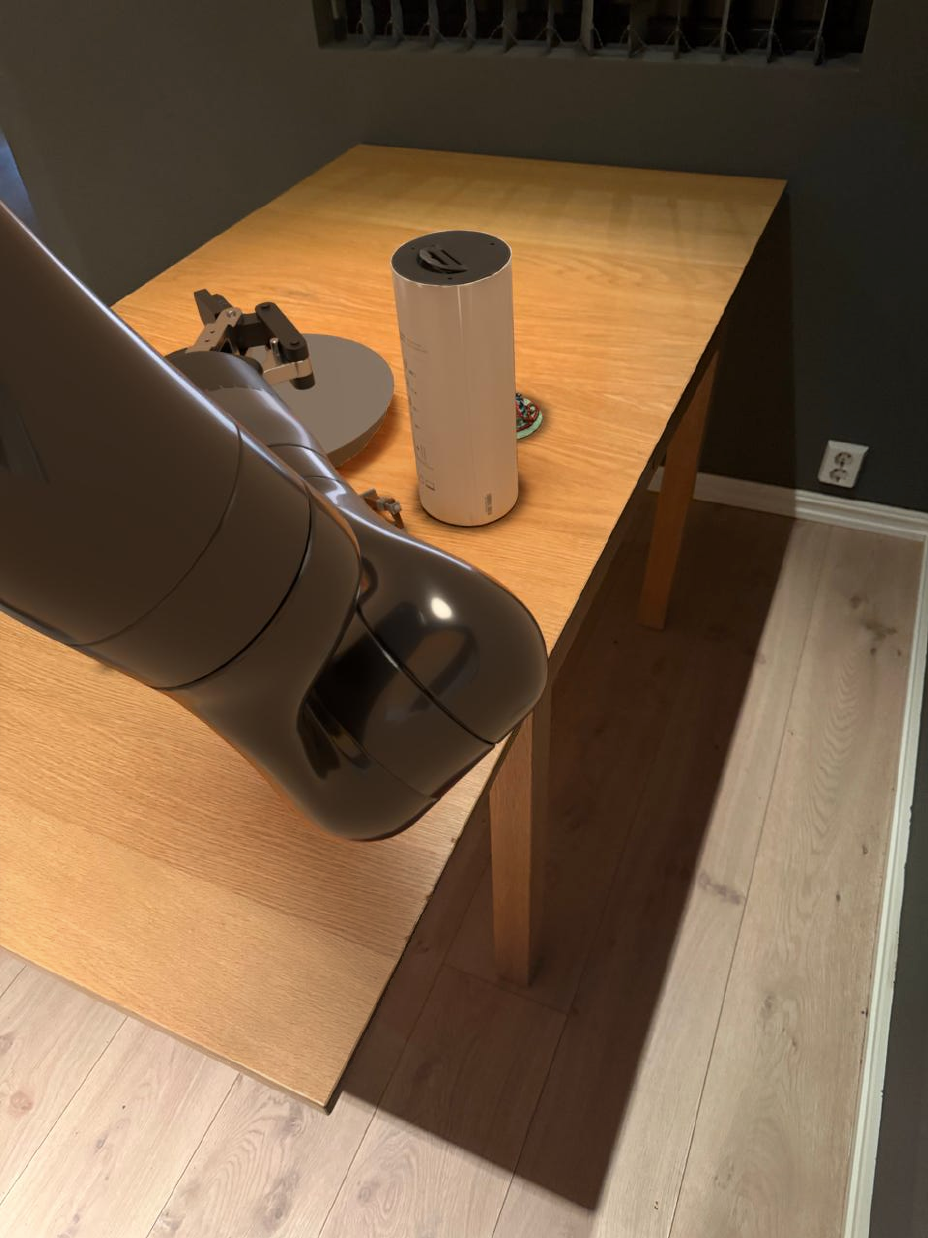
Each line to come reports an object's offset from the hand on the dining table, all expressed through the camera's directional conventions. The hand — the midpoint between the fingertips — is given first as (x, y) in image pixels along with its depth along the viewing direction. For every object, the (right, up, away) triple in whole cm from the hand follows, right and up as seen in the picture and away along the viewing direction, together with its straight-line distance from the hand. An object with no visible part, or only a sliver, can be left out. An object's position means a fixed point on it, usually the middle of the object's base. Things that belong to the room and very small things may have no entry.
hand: (132, 328), depth 51 cm
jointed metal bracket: (+11, -7, +39) cm, 42 cm away
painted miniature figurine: (+24, +6, +51) cm, 56 cm away
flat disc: (-2, +5, +52) cm, 53 cm away
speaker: (+20, -4, +41) cm, 46 cm away
